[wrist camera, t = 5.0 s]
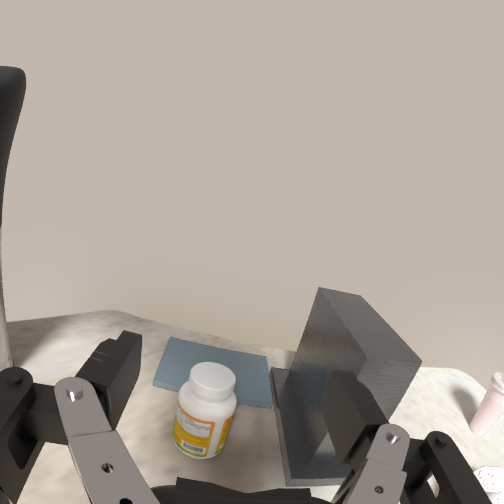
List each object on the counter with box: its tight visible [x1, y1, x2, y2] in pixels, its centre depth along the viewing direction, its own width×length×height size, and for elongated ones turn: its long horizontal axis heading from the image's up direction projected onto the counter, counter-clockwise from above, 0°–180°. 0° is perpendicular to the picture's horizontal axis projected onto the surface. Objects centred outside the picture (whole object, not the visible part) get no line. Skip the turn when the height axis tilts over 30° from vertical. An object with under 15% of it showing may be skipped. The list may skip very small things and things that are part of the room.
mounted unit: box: [269, 287, 422, 486], centre depth 31 cm, size 10×20×16 cm, turn 2°
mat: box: [153, 337, 273, 408], centre depth 39 cm, size 15×11×1 cm
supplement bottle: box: [173, 362, 237, 459], centre depth 25 cm, size 5×5×10 cm
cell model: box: [473, 466, 504, 504], centre depth 14 cm, size 10×12×7 cm
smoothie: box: [470, 372, 504, 435], centre depth 30 cm, size 6×6×14 cm
